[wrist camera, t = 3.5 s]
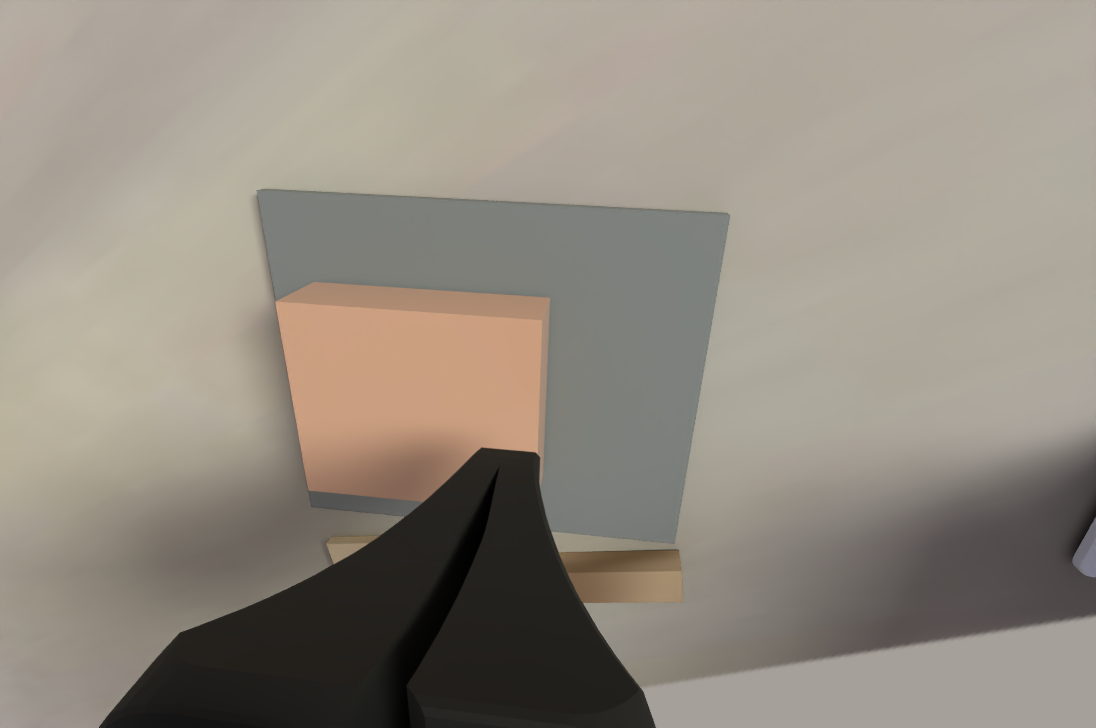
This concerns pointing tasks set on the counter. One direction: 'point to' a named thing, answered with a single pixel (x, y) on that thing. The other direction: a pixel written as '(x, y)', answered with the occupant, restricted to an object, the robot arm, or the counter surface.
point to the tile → (411, 383)
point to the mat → (574, 326)
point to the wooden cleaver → (592, 572)
